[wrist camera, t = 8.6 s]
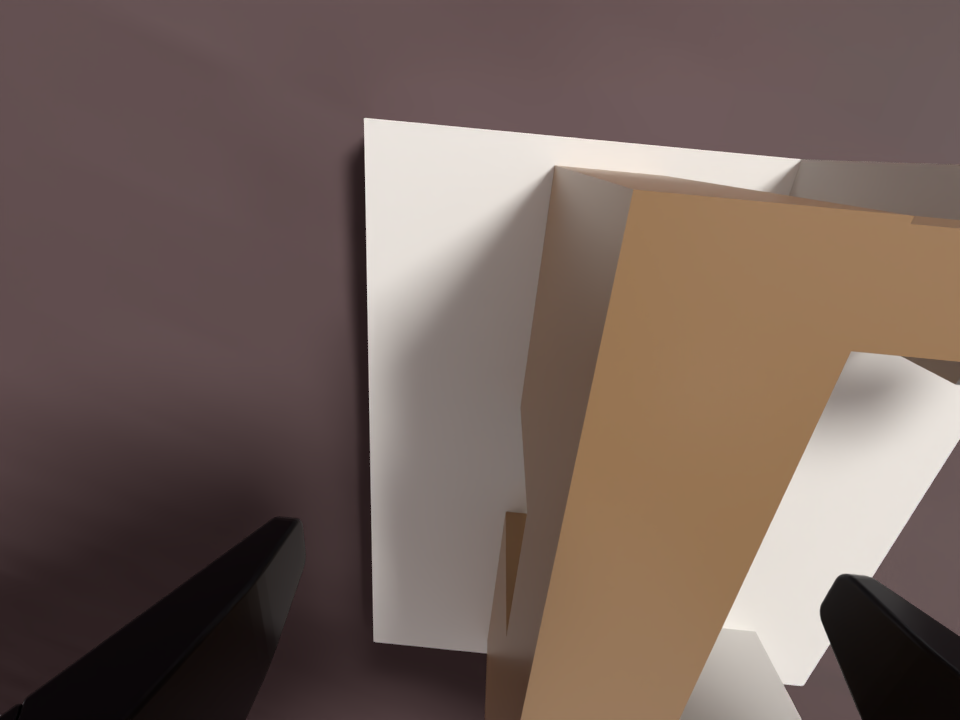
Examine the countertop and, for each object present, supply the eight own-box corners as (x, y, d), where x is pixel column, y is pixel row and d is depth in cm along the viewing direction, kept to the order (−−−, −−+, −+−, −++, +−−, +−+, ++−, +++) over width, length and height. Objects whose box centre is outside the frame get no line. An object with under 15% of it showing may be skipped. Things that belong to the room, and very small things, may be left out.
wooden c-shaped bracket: (1158, 221, 7) (2192, 337, 3) (846, 676, 12) (1042, 978, 8) (554, 164, 7) (632, 190, 3) (487, 640, 13) (478, 918, 8)
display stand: (1048, 184, 8) (1705, 227, 4) (782, 650, 14) (919, 893, 9) (379, 120, 8) (233, 88, 4) (382, 609, 14) (324, 830, 9)
